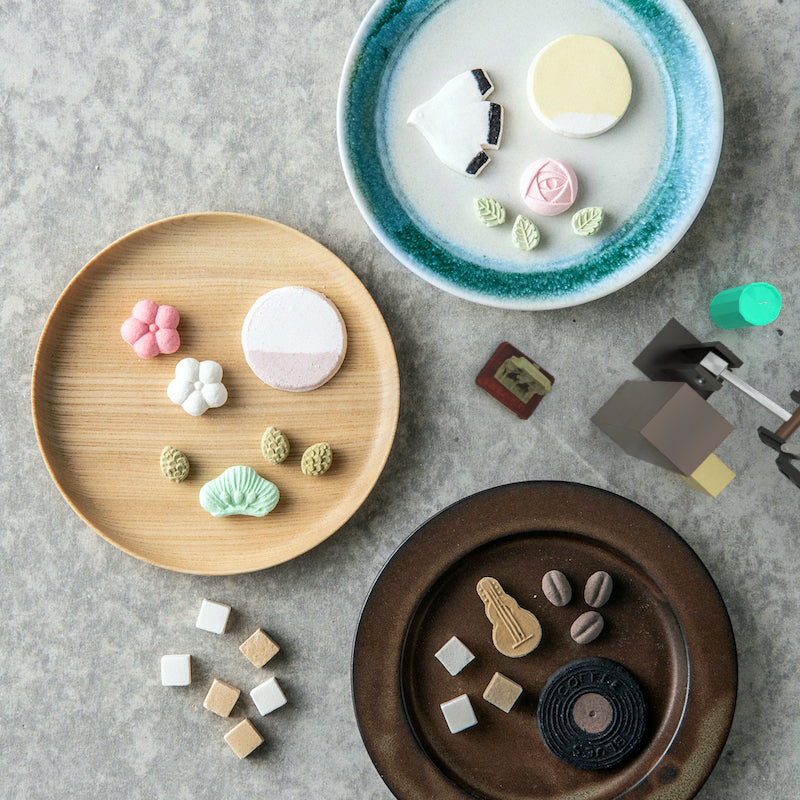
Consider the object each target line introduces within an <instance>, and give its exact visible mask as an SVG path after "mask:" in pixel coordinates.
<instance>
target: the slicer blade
mask: <svg viewBox="0 0 800 800" xmlns="http://www.w3.org/2000/svg"><path fill="white" fill-rule="evenodd" d="M700 365H701V366H702V367H703V368H704V369H705V370H707V371H708V372H709V373H710V374H711V375H712V376H713V377H714V378H716V379H718V378H719V377H721V378H722V379H724V382H726V383H728V385H731V386H732V387H734V388H735V389H736V390H738V392H740V393H742V394H743V395H745V396H746V397H747V398H750V400H751V401H753V402H755V403H756V404H758V405H759V406H760V407H762V408H763V409H765V410H766V411H767V412H769V413H771V414H772V415H773V416H774V417H776V418H777V419H778V420H780V421H781V422H783V423H782V424H781V425H780V426H779V427H778V429H776V430H775V431H774V433H775V434H776V435H778V436H780V437H782V438H783V439H785V440H786V442H787V441H788V440H790V438H791V437H792V436H793V435H794V434H795V433H796V431H798V429H799V428H800V405H799V406H797V408H796V409H795V410H794V411H793V412H791V413H790V412H789V411H788V410H786V409H784V407H782V406H780V405H779V404H777V403H776V402H774V401H773V400H771V399H770V398H769V397H768V396H766V395H764V394H763V393H761V392H760V391H759V390H757V389H756V388H754V387H753V386H752V385H750V384H748V383H747V382H745V381H744V380H743V379H741V378H740V377H739V376H737V375H736V374H734V373H732V372H730V371H728V370H727V366H728V363H727V362H725V361H724V360H722V359H721V358H720V357H718V356H717V355H715V354H714V353H712V352H711V351H710V352H709V353H708V354H707V356H706V357H705V358H704V359H703V360H702V361H701V362H700Z"/></svg>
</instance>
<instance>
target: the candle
mask: <svg viewBox="0 0 800 800" xmlns="http://www.w3.org/2000/svg"><path fill="white" fill-rule="evenodd" d="M782 299H783V296H782V294H781V293H780V292H779V290H778V289H777V287H776V286H774V285H772V284H770V283H769V282H765V281H760V282H758V281H757V282H751V283H747V284H743V285H740V286H735V287H731V288H728V289H724V290H721V291H720V292H719V293H717V294H716V295H714V296H713V298H712V300H711V302H710V303H709V317H710V319H711V320H712V322H713V323H714V324H715V326H717V327H718V328H720V329H723V330H725V331H727V330H737V329H745V328H746V329H747V328H753V327H760V326H767V325H768V324H770V323H772V322H773V321H775V320H776V319H778V316H779V315H780V312H781V309H782Z"/></svg>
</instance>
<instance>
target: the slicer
mask: <svg viewBox="0 0 800 800" xmlns="http://www.w3.org/2000/svg"><path fill="white" fill-rule="evenodd" d="M710 351H711V352H712V353H714V354H715V355H717V356H718V357H720V358H721V359H722V360H724V361H725V362H727V363H728V366H727V370H728V371H730V372H731V373H732V372H734V370H733V369H740V368H741V367H742V366H743V365H744V364H745V362H744V361H742V359H740V358H739V357H738V355H736V354H735V353H734V351H733V350H732V349H731V348H730V347H729V346H726V344H724V343H723V342H722V341H721V340H715V341H714V340H713V341H704V342H702V341H700V339H698V338H697V337H696V336H695V335H694V334H692V332H691V331H689V330H688V329H687V328H686V327H684V325H682V323H680V321H678V320H677V319H676V318H675V317H671V318H670V319H669V321H668V322H667V323H666V324H665V325H664V326H663V327H662V329H660V331H659V332H658V333H657V334H656V335H655V336H654V337H653V338H652V339H651V341H650V342H649V343H648V344H647V345H646V346H645V347H644V349H643V350H642V351H641V352H640V353H639V354H638V355H637V356H636V357H635V359H634V360H632V362H631V364H633V365H634V366H635V367H636V368H637V369H638V370H640V372H642V374H644V375H645V376H646V377H647V378H648V379H649V380H650V381H662V382H686V383H687V384H688V385H689V386H690V387H691V388H692V389H693V390H695V391H696V392H697V393H698V394H699V395H700V396H701V397H702V398H703V399H704V400H705V401H706V402H707V400H708V399H709V398H711V396H712V395H713V393H714V392H719V391H720V390H722V388H723V387H724V384H723V383H724V382H725V380H724V379H722V378H721V377H719V378H718V379H716V378H714V377H713V376H712V375H711V374H710V373H709V372H708V371H707V370H705V369H704V368H703V367H702V366H701V365H700V362H701V361H702V360H703V359H704V358H705V357H706V356H707V354H708V353H709V352H710Z"/></svg>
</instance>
